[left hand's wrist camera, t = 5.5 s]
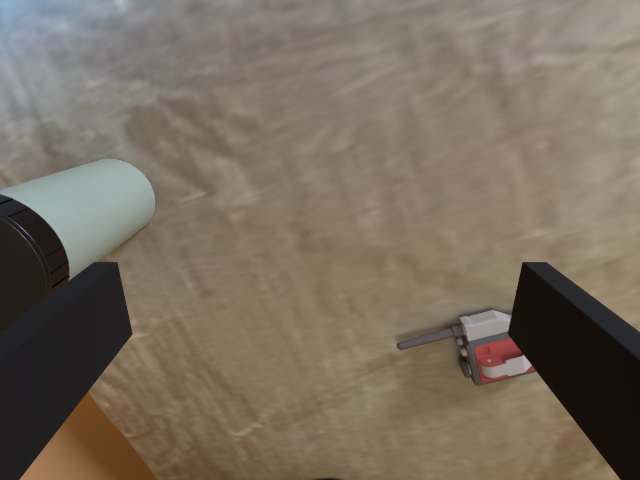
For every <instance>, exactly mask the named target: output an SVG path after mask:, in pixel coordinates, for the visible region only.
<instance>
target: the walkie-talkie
mask: <svg viewBox="0 0 640 480" xmlns="http://www.w3.org/2000/svg"><path fill="white" fill-rule="evenodd" d="M459 319H460V323H461V324H458V325H455V326H451V328H448V329H444V330H440V331H436V332H433V333H429V334H425V335H421V336H419V337H417V338H413V339H409V340H406V341H402V342H399V343H397V348H398V349H399V350H404V349H407V348H411V347H415V346H419V345H423V344H427V343H431V342H434V341H438V340H442V339H446V338H450V337H459V338H456V341H457V344H458V345H462V348H463V349H460V351H461V354H462V356H464V357H465V361H466V362H465V361H464V360H461V361H460V366H461V369H462V372H463V374H464V376H465V377H466V378H470V376H471V378H472V380H473V382H474V384H475V385H478V386H480V385H484V384H489V383H493V382H497V381H501V380H505V379H509V378H513V377H516V376H520V375H525V374H529V373H533V372H536V370H535V369H534V367H533V366H532V365H531V364H530V362H529V361H528V360H527V358H526V357H525V356H524V355H523V353H522V352H521V351H520V349H519V348H518V347H517V346H516V344H515V343H514V342H513V340H512V339H511V338H510V337H509V335H508V329H509V325H510V320H511V315H507V314H504V313H501V312H498V311H495V310H491V311H487V312H483V313H479V314H475V315H471V316H468V317H467V316H463V317H460V318H459Z"/></svg>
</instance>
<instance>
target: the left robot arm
mask: <svg viewBox="0 0 640 480" xmlns="http://www.w3.org/2000/svg"><path fill="white" fill-rule="evenodd" d="M131 335H132V329H131V325H130V320H129V315H128V310H127V306H126V301H125V296H124V291H123V287H122V282H121V277H120V273H119V268H118V263H117V262H93V263H92V264H91V265H89V266H88V267H87V268H85V269H84V270H83V271H81V272H80V273H79V274H77V275H76V276H75V277H73V278H72V279H71V280H69V281H68V282H67V283H65V284H64V285H63V286H61V287H60V288H59V289H57V290H56V291H55V292H53V293H52V294H51V295H49V296H48V297H47V298H45V299H44V300H43V301H41V302H40V303H39V304H37V305H36V306H35V307H33V308H32V309H31V310H29V311H28V312H27V313H25V314H24V315H23V316H21V317H20V318H19V319H17V320H16V321H14V322H13V323H12V324H10V325H9V326H8V327H6V328H5V329H4V330H2V331H1V332H0V480H19V479H20V478H21V477H22V476H23V474H24V473H25V472H26V470H27V469H28V468H29V467H30V465H31V464H32V463H33V461H34V460H35V459H36V458H37V456H38V455H39V454H40V452H41V451H42V450H43V449H44V447H45V446H46V445H47V443H48V442H49V441H50V439H51V438H52V437H53V436H54V434H55V433H56V432H57V430H58V429H59V428H60V427H61V425H62V424H63V423H64V422H65V420H66V419H67V418H68V416H69V415H70V414H71V412H72V411H73V410H74V409H75V407H76V406H77V405H78V403H79V402H80V401H81V400H82V398H83V397H84V396H85V394H86V393H87V392H88V391H89V389H90V388H91V387H92V385H93V384H94V383H95V382H96V380H97V379H98V378H99V376H100V375H101V374H102V373H103V371H104V370H105V369H106V367H107V366H108V365H109V364H110V362H111V361H112V360H113V358H114V357H115V356H116V355H117V353H118V352H119V351H120V349H121V348H122V347H123V346H124V344H125V343H126V342H127V340H128V339H129V338H130V337H131ZM508 335H509V337H510V338H511V339H512V340H513V342H514V343H515V344H516V346H517V347H518V348H519V349H520V351H521V352H522V353H523V355H524V356H525V357H526V358H527V360H528V361H529V362H530V364H531V365H532V366H533V367H534V369H535V370H536V371H537V373H538V374H539V375H540V376H541V378H542V379H543V380H544V382H545V383H546V384H547V385H548V387H549V388H550V389H551V391H552V392H553V393H554V394H555V396H556V397H557V398H558V400H559V401H560V402H561V403H562V405H563V406H564V407H565V409H566V410H567V411H568V412H569V414H570V415H571V416H572V418H573V419H574V420H575V422H576V423H577V424H578V425H579V427H580V428H581V429H582V431H583V432H584V433H585V434H586V436H587V437H588V438H589V440H590V441H591V442H592V443H593V445H594V446H595V447H596V449H597V450H598V451H599V452H600V454H601V455H602V456H603V458H604V459H605V460H606V461H607V463H608V464H609V465H610V467H611V468H612V469H613V470H614V472H615V473H616V474H617V476H618V477H619V478H620V479H621V480H640V332H639V331H638V330H636V329H635V328H634V327H632V326H631V325H630V324H628V323H627V322H626V321H624V320H623V319H621V318H620V317H619V316H617V315H616V314H615V313H613V312H612V311H611V310H609V309H608V308H607V307H605V306H604V305H603V304H601V303H600V302H599V301H597V300H596V299H595V298H593V297H592V296H591V295H589V294H588V293H587V292H585V291H584V290H583V289H581V288H580V287H579V286H577V285H576V284H575V283H573V282H572V281H571V280H569V279H568V278H567V277H565V276H564V275H563V274H561V273H560V272H559V271H557V270H556V269H555V268H553V267H552V266H551V265H549V264H548V263H547V262H523V263H522V268H521V273H520V277H519V282H518V287H517V291H516V296H515V301H514V306H513V310H512V315H511V320H510V325H509V329H508Z"/></svg>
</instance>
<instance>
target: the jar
mask: <svg viewBox="0 0 640 480" xmlns="http://www.w3.org/2000/svg"><path fill="white" fill-rule="evenodd" d="M0 194H2V195H5V196H8V197H10V198H13V199H15V200H17V201H19V202H21V203H23V204H24V205H26V206H28V207H30V208H31V209H32V210H34V211H35V212H36V213H38V214H39V215H40V216H41V217H42V218H43V219H44V220H45V221H46V222H47V223H48V224H49V225H50V226H51V227H52V228H53V230H54V231H55V232H56V234H57V235H58V237H59V238H60V240H61V242H62V244H63V246H64V248H65V251H66V253H67V257H68V261H69V268H70V269H69V276H70V277H69V280H71V279H72V278H73V277H75V276H76V275H77V274H79V273H80V272H81V271H83V270H84V269H85V268H87V267H88V266H89V265H91V264H92V263H93V262H99V261H100V260H101V259H103V258H104V257H105V256H107V255H108V254H109V253H111V252H112V251H113V250H114V249H116V248H117V247H118V246H120V245H121V244H122V243H124V242H125V241H126V240H128V239H129V238H130V237H132V236H133V235H134V234H135V233H137V232H138V231H139V230H141V229H142V228H143V227H145V226H146V225H147V224H148V223H149V221H150V220H151V218H152V217H153V214H154V211H155V204H156V203H155V194H154V191H153V188H152V186H151V184H150V182H149V181H148V179H147V178H146V177H145V175H144V174H143V173H142V172H141V171H140V170H138V169H137V168H136V167H134V166H133V165H131V164H129V163H127V162H124V161H122V160H118V159H100V160H97V161H94V162H90V163H87V164H84V165H81V166H77V167H74V168H71V169H67V170H64V171H61V172H58V173H54V174H51V175H48V176H44V177H41V178H38V179H34V180H31V181H28V182H25V183H21V184H18V185H15V186H11V187H8V188H5V189H2V190H0Z"/></svg>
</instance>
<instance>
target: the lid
mask: <svg viewBox="0 0 640 480" xmlns="http://www.w3.org/2000/svg"><path fill="white" fill-rule="evenodd" d="M69 269H70V268H69V261H68V257H67V253H66V251H65V248H64V246H63V244H62V242H61V240H60V238H59V237H58V235H57V234H56V232H55V231H54V230H53V228H52V227H51V226H50V225H49V224H48V223H47V222H46V221H45V220H44V219H43V218H42V217H41V216H40V215H39V214H38V213H36V212H35V211H34V210H32V209H31V208H30V207H28V206H26V205H24V204H23V203H21V202H19V201H17V200H15V199H13V198H10V197H8V196H5V195H2V194H0V332H1V331H2V330H4V329H5V328H6V327H8V326H9V325H10V324H12V323H13V322H14V321H16V320H17V319H19V318H20V317H21V316H23V315H24V314H25V313H27V312H28V311H29V310H31V309H32V308H33V307H35V306H36V305H37V304H39V303H40V302H41V301H43V300H44V299H45V298H47V297H48V296H49V295H51V294H52V293H53V292H55V291H56V290H57V289H59V288H60V287H61V286H63V285H64V284H65V283H67V282H68V281H69V277H70V276H69Z"/></svg>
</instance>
